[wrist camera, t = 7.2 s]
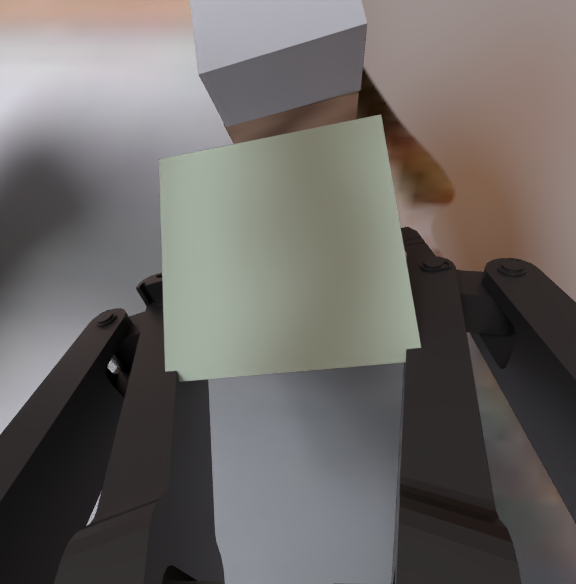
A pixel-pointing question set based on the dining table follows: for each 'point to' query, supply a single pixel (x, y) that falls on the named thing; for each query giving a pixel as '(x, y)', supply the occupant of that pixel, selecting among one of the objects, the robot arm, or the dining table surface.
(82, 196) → the dining table surface
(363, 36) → the slate block
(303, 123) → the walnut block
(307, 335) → the sage block
